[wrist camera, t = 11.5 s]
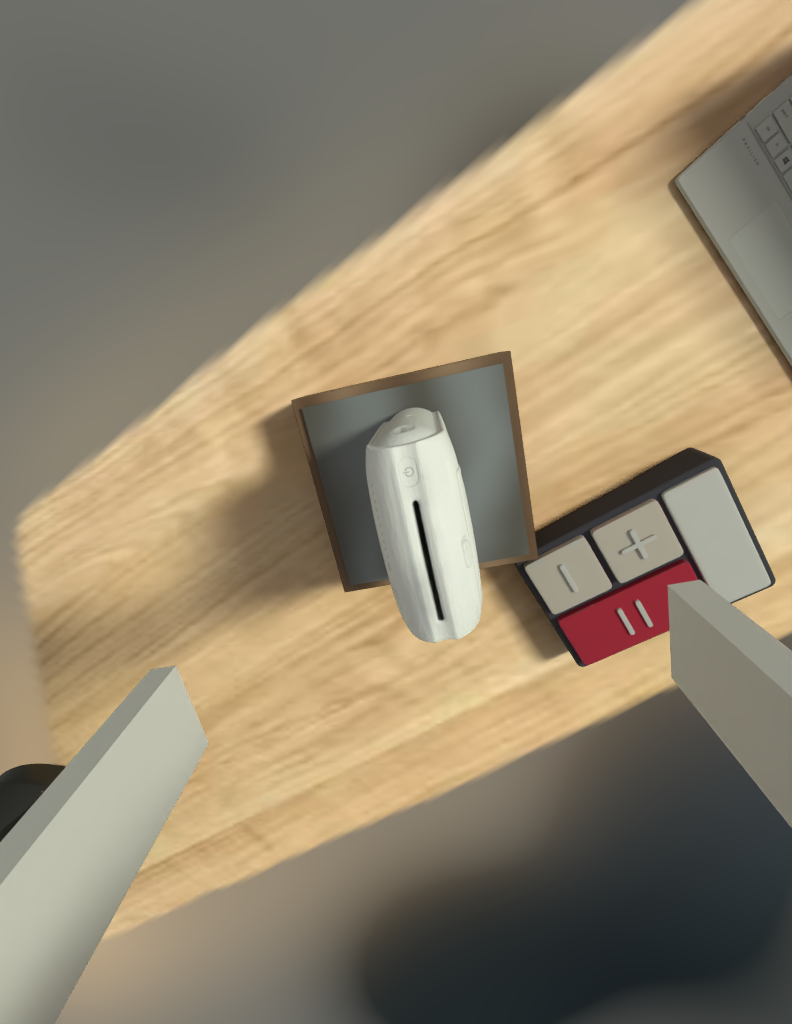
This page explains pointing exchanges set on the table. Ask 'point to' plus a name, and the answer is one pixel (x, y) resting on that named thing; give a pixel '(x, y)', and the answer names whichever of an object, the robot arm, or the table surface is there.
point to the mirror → (474, 436)
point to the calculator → (644, 555)
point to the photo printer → (424, 525)
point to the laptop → (752, 206)
